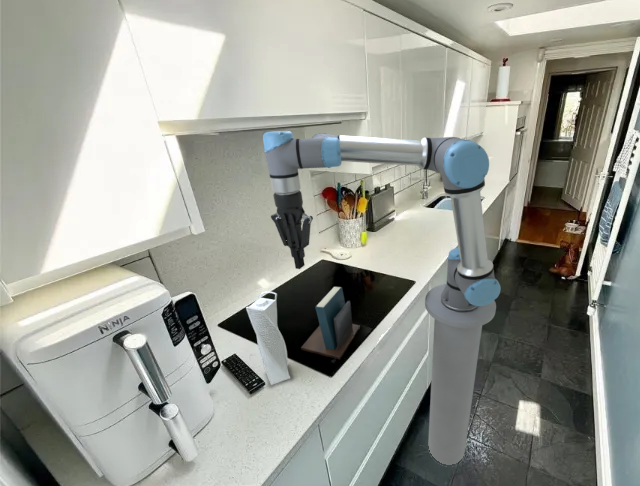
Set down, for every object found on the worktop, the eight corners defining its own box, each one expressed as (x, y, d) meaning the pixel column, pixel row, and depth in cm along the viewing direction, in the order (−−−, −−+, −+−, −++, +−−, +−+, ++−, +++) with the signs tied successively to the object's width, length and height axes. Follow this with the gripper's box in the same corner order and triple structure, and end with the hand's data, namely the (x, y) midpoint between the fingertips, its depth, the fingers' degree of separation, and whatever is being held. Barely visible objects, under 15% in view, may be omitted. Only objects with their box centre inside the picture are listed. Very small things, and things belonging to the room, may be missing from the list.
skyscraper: (291, 362, 95) (274, 284, 83) (296, 379, 89) (278, 298, 77) (264, 371, 92) (242, 293, 80) (268, 389, 86) (244, 307, 74)
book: (350, 326, 108) (341, 286, 101) (333, 350, 97) (323, 307, 91) (342, 325, 109) (333, 286, 102) (325, 348, 99) (314, 306, 92)
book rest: (360, 327, 109) (357, 296, 103) (339, 359, 95) (335, 326, 90) (325, 320, 113) (321, 290, 108) (301, 349, 100) (294, 317, 94)
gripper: (314, 189, 86) (324, 264, 96) (276, 187, 90) (289, 258, 100) (299, 196, 80) (312, 275, 90) (258, 193, 84) (275, 269, 94)
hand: (300, 266), depth 95 cm, fingers closed
